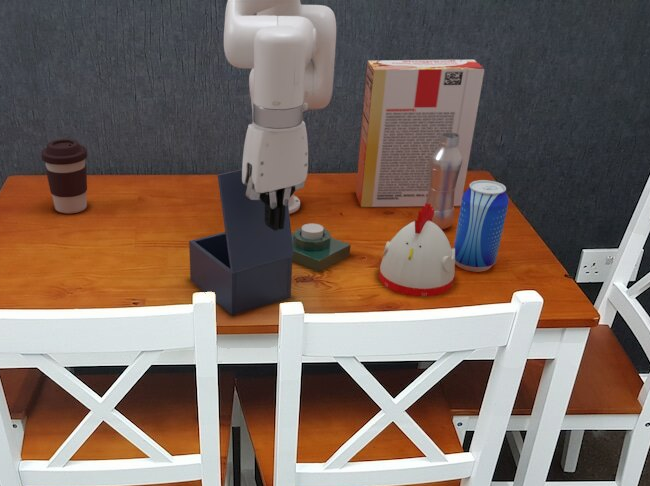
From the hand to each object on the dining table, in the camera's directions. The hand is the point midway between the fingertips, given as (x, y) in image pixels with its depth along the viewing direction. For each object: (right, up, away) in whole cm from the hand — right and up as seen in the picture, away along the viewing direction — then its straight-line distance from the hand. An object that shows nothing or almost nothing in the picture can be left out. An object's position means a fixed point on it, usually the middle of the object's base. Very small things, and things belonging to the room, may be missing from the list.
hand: (274, 226), depth 130 cm
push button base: (+9, 0, +29) cm, 31 cm away
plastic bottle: (+37, +7, +40) cm, 55 cm away
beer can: (+41, -3, +26) cm, 48 cm away
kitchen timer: (+28, -6, +21) cm, 35 cm away
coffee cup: (-44, +13, +50) cm, 68 cm away
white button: (+9, +3, +27) cm, 29 cm away
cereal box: (+34, +16, +53) cm, 65 cm away
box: (-6, -8, +18) cm, 20 cm away
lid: (-3, +3, +4) cm, 6 cm away
